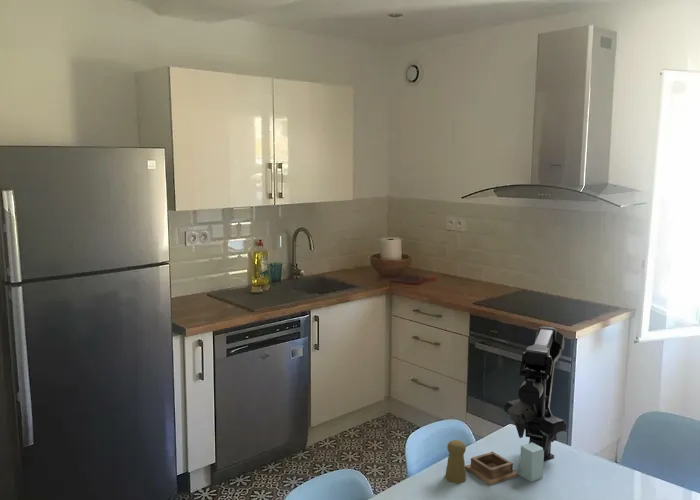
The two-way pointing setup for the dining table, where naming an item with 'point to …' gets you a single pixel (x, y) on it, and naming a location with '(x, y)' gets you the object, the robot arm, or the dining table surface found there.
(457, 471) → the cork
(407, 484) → the dining table surface
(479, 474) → the walnut socket
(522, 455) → the painted peg
